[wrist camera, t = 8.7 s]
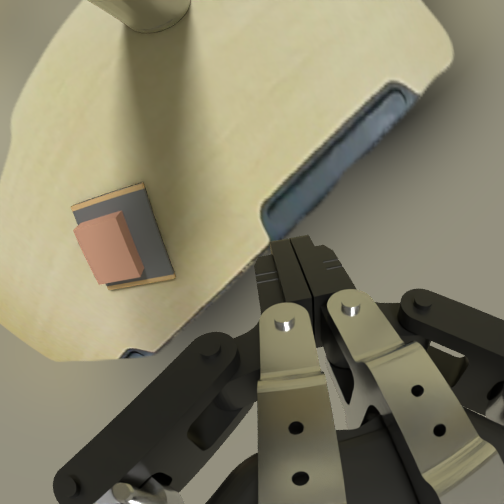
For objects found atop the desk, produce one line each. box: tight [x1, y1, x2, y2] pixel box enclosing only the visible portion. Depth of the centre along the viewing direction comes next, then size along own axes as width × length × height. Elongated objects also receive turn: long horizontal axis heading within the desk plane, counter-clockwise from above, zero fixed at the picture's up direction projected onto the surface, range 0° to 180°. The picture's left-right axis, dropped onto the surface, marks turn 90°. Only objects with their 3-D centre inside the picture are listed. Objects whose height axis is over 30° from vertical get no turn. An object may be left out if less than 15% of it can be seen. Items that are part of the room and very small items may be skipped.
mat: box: [71, 182, 176, 290], centre depth 39 cm, size 16×13×1 cm
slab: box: [73, 211, 144, 285], centre depth 37 cm, size 10×3×8 cm
